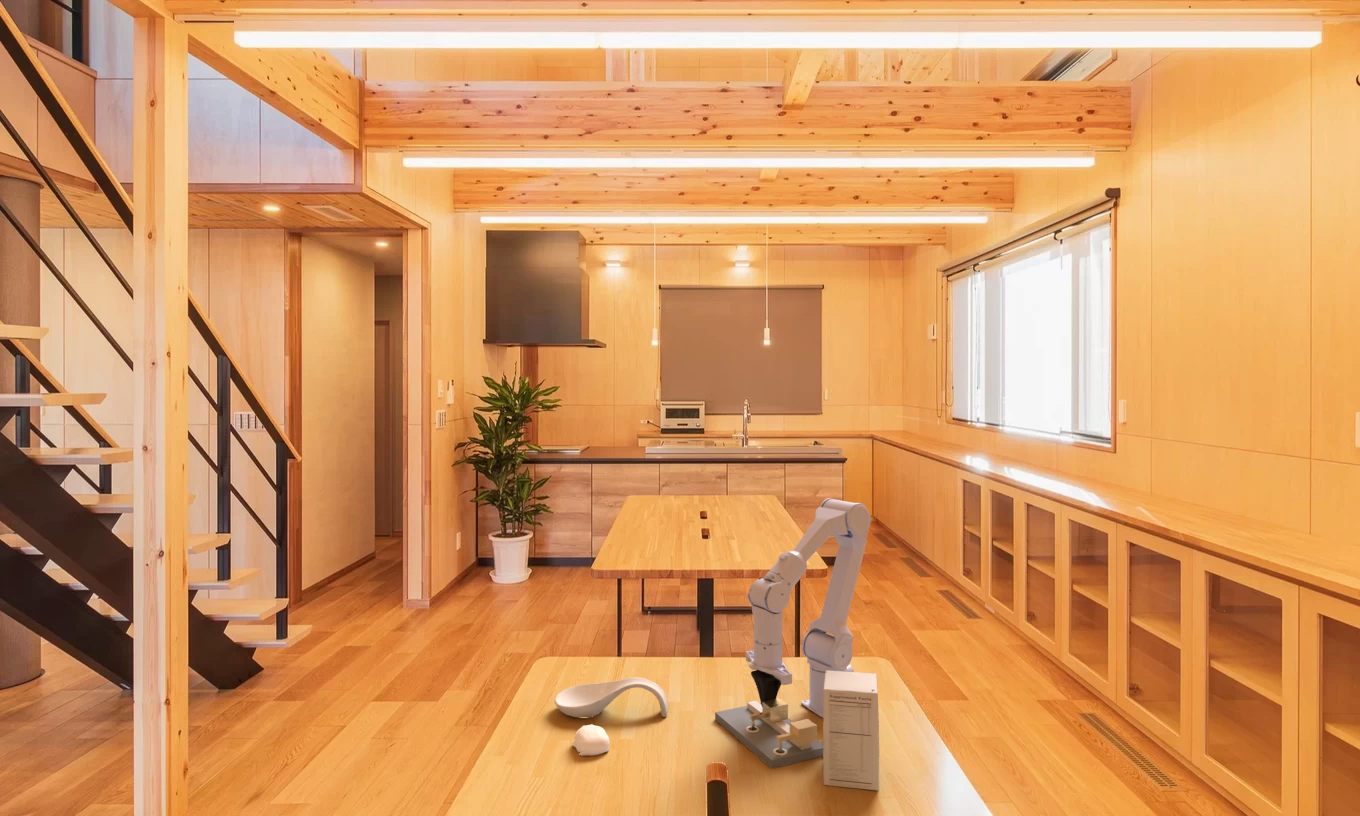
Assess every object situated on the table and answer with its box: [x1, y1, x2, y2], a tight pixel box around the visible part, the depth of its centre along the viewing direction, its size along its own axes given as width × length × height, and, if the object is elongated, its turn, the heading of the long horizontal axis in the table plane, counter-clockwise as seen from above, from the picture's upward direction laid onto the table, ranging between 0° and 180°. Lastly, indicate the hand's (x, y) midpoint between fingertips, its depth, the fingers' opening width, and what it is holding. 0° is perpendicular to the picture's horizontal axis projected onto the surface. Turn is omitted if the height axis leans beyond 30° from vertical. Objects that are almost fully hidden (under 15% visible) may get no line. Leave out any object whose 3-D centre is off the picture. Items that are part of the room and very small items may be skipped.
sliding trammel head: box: [750, 698, 789, 730], centre depth 148 cm, size 8×3×4 cm, turn 115°
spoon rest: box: [554, 676, 669, 718], centre depth 159 cm, size 24×12×7 cm, turn 88°
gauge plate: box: [714, 700, 824, 769], centre depth 148 cm, size 12×22×6 cm, turn 25°
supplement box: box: [822, 670, 880, 791], centre depth 133 cm, size 10×9×17 cm
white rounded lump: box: [571, 723, 611, 757], centre depth 143 cm, size 8×7×4 cm
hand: (767, 707), depth 152 cm, fingers closed
